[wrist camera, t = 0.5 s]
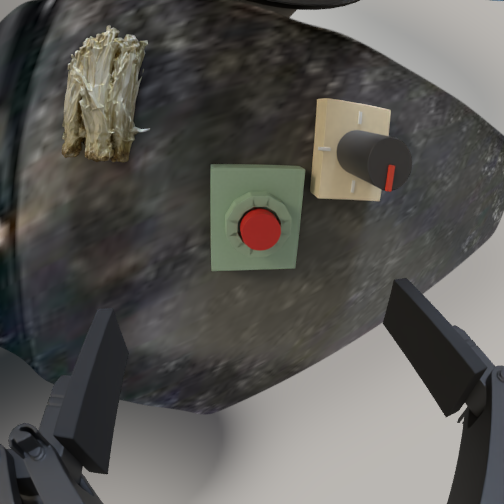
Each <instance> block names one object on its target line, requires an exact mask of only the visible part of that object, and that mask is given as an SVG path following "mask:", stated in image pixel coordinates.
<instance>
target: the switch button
mask: <svg viewBox="0 0 504 504" xmlns="http://www.w3.org/2000/svg"><path fill="white" fill-rule="evenodd" d="M240 232H241V235H242V239H243V241H244V243H245V244H246V245H247V246H248V247H249V248H251V249H253V250H258V251H262V250H267V249H269V248H271V247H273V246H274V245H275V244H276V243H277V242H278V240H279V238H280V235H281V227H280V224H279V222H278V221H277V219H276V217H275V216H274V215H273V214H272V213H271V212H270V211H268V210H266V209H254V210H251V211H249V212H248V213H247V214H246V215H245V216H244V217H243V218H242V220H241V223H240Z"/></svg>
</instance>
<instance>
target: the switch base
mask: <svg viewBox="0 0 504 504" xmlns="http://www.w3.org/2000/svg"><path fill="white" fill-rule="evenodd" d="M304 179H305V169H303V168H302V167H300V166H289V165H258V164H211V179H210V213H211V269H212V271H231V270H262V269H290V268H295V265H296V256H297V248H298V239H299V230H300V220H301V210H302V200H303V190H304ZM254 209H266V210H268V211H270V212H271V213H272V214H273V215H274V216H275V217H276V219H277V221H278V222H279V224H280V227H281V235H280V238H279V240H278V242H277V243H276V244H275V245H274V246H273V247H271V248H269V249H267V250H262V251H258V250H253V249H251V248H249V247H248V246H247V245H246V244H245V243H244V241H243V239H242V235H241V232H240V223H241V220H242V218H243V217H244V216H245V215H246V214H247V213H248V212H249V211H251V210H254Z"/></svg>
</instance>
